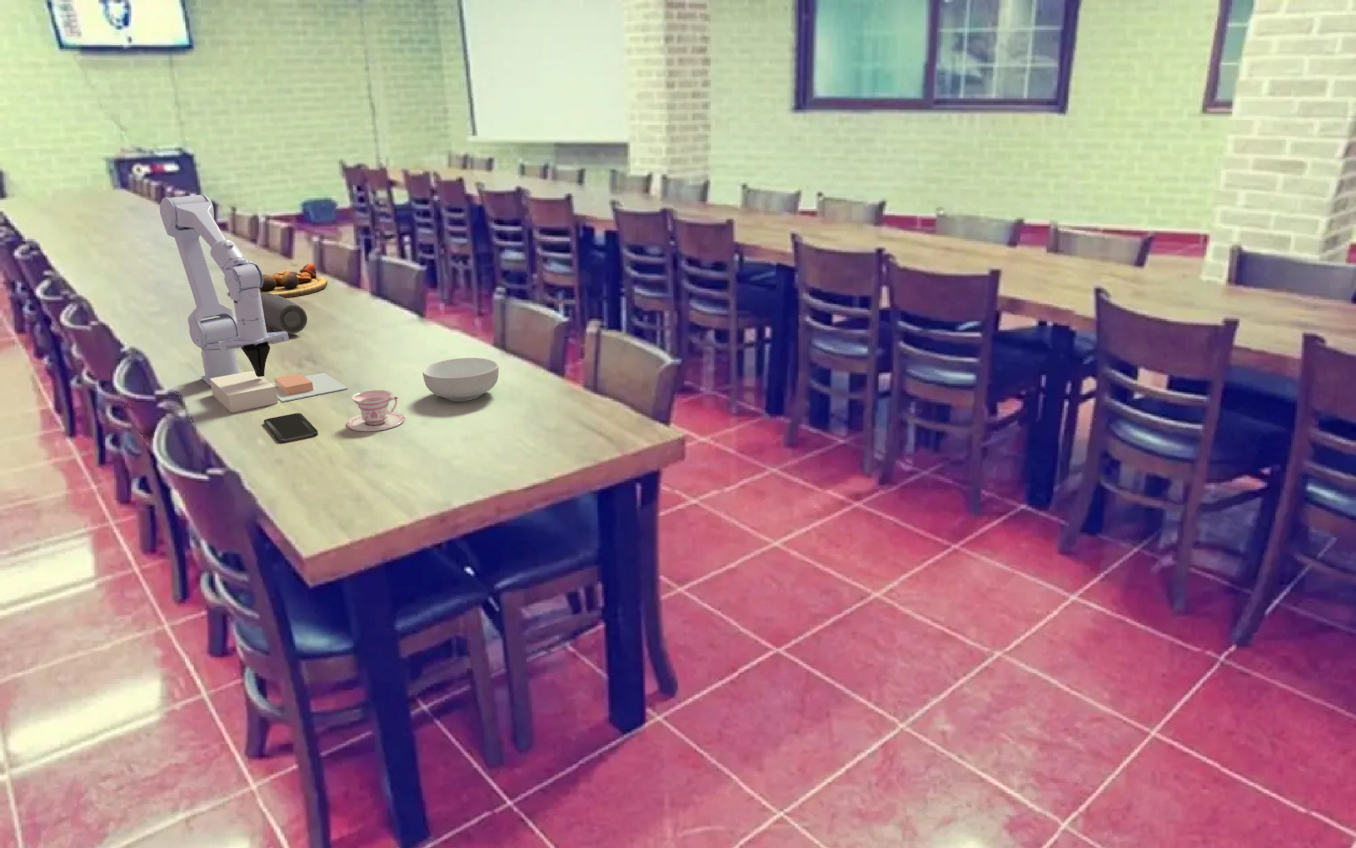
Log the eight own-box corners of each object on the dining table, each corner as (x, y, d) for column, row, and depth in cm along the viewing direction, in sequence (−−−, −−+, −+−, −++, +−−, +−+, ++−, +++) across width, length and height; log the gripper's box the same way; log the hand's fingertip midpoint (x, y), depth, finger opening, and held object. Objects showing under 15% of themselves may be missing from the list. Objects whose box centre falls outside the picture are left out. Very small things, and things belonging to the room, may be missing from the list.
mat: (261, 385, 224) (261, 384, 224) (324, 373, 232) (324, 372, 232) (282, 402, 212) (282, 401, 212) (347, 389, 221) (347, 387, 221)
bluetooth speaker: (251, 325, 279) (245, 292, 275) (282, 320, 284) (277, 288, 281) (278, 340, 263) (273, 305, 259) (311, 334, 269) (306, 300, 265)
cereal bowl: (493, 381, 226) (490, 353, 223) (506, 402, 211) (504, 372, 209) (421, 389, 220) (418, 361, 218) (430, 411, 205) (427, 381, 203)
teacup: (345, 435, 192) (341, 407, 190) (348, 416, 203) (344, 389, 201) (405, 429, 195) (402, 401, 193) (405, 411, 206) (402, 384, 204)
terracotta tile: (299, 373, 225) (301, 381, 226) (274, 378, 222) (275, 386, 222) (312, 382, 218) (313, 390, 219) (285, 387, 215) (287, 395, 216)
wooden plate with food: (309, 277, 349) (305, 255, 346) (342, 289, 326) (338, 266, 323) (218, 291, 329) (214, 268, 327) (247, 305, 306) (242, 281, 304)
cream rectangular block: (212, 394, 217) (209, 378, 216) (257, 386, 223) (254, 370, 222) (231, 412, 206) (228, 395, 204) (278, 403, 211) (275, 386, 210)
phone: (279, 440, 188) (262, 419, 199) (280, 445, 188) (263, 424, 199) (319, 432, 192) (300, 412, 203) (320, 437, 192) (301, 416, 204)
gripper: (220, 326, 203) (231, 385, 208) (288, 316, 212) (297, 373, 216) (212, 320, 208) (223, 378, 213) (279, 310, 217) (288, 366, 221)
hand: (260, 375), depth 215 cm, fingers closed
